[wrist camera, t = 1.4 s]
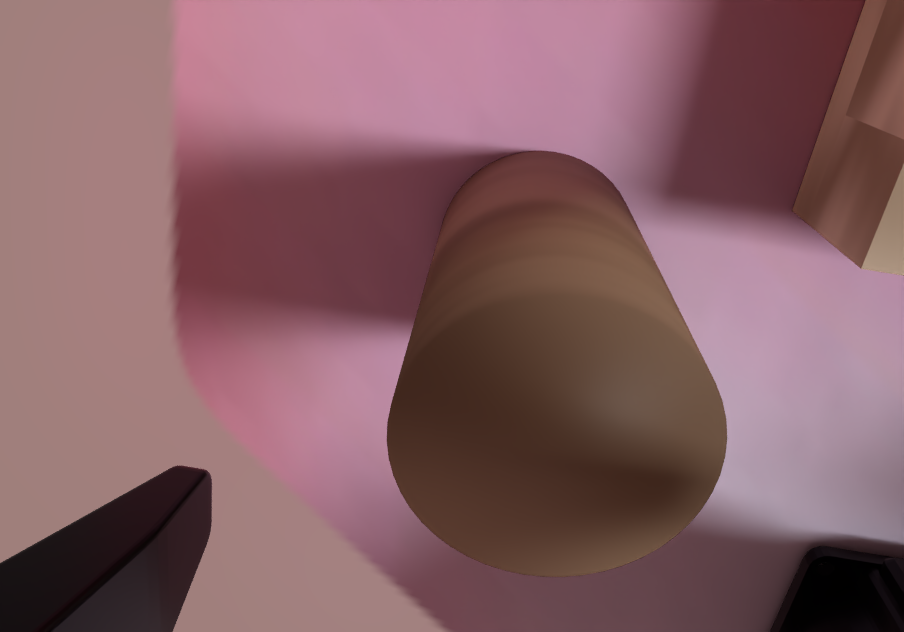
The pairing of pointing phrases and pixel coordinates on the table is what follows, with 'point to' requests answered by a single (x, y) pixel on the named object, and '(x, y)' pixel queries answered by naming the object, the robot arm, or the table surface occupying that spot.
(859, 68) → the socket block
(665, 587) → the table surface
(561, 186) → the peg
